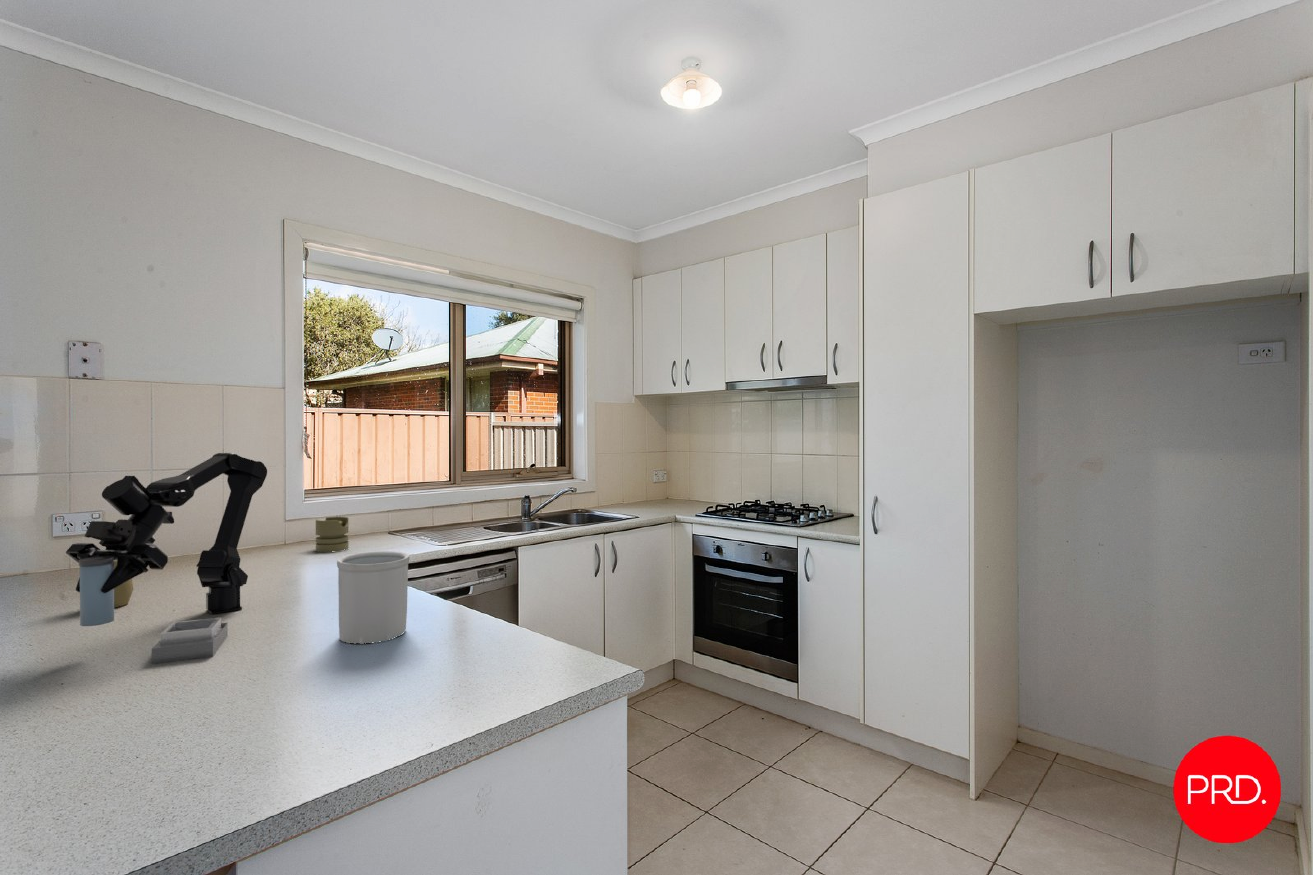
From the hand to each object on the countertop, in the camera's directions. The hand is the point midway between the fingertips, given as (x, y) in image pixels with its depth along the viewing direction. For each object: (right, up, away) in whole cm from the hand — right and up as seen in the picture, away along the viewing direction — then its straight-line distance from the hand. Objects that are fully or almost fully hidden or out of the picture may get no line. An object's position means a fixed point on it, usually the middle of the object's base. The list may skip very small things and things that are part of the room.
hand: (90, 591), depth 127 cm
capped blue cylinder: (0, -7, +1) cm, 7 cm away
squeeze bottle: (-28, -13, +38) cm, 49 cm away
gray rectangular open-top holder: (+17, -13, +5) cm, 22 cm away
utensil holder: (+51, -13, +15) cm, 54 cm away
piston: (-12, -13, +117) cm, 119 cm away
